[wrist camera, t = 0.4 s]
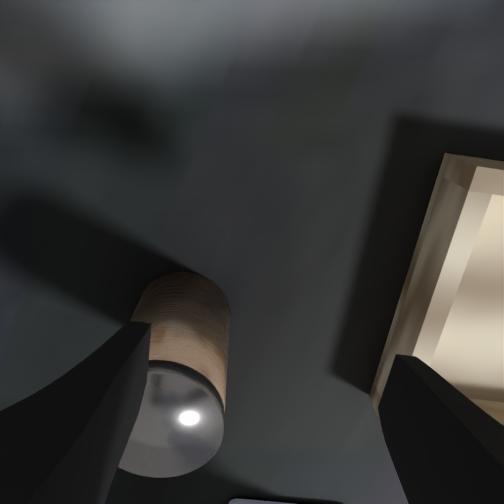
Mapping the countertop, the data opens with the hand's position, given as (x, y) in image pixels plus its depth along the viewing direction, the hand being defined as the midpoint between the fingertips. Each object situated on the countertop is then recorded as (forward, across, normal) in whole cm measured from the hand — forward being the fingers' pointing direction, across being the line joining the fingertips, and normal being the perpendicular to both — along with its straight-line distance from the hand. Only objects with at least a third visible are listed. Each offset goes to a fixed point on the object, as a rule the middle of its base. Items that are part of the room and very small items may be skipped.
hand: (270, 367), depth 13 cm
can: (+10, +3, +4) cm, 11 cm away
